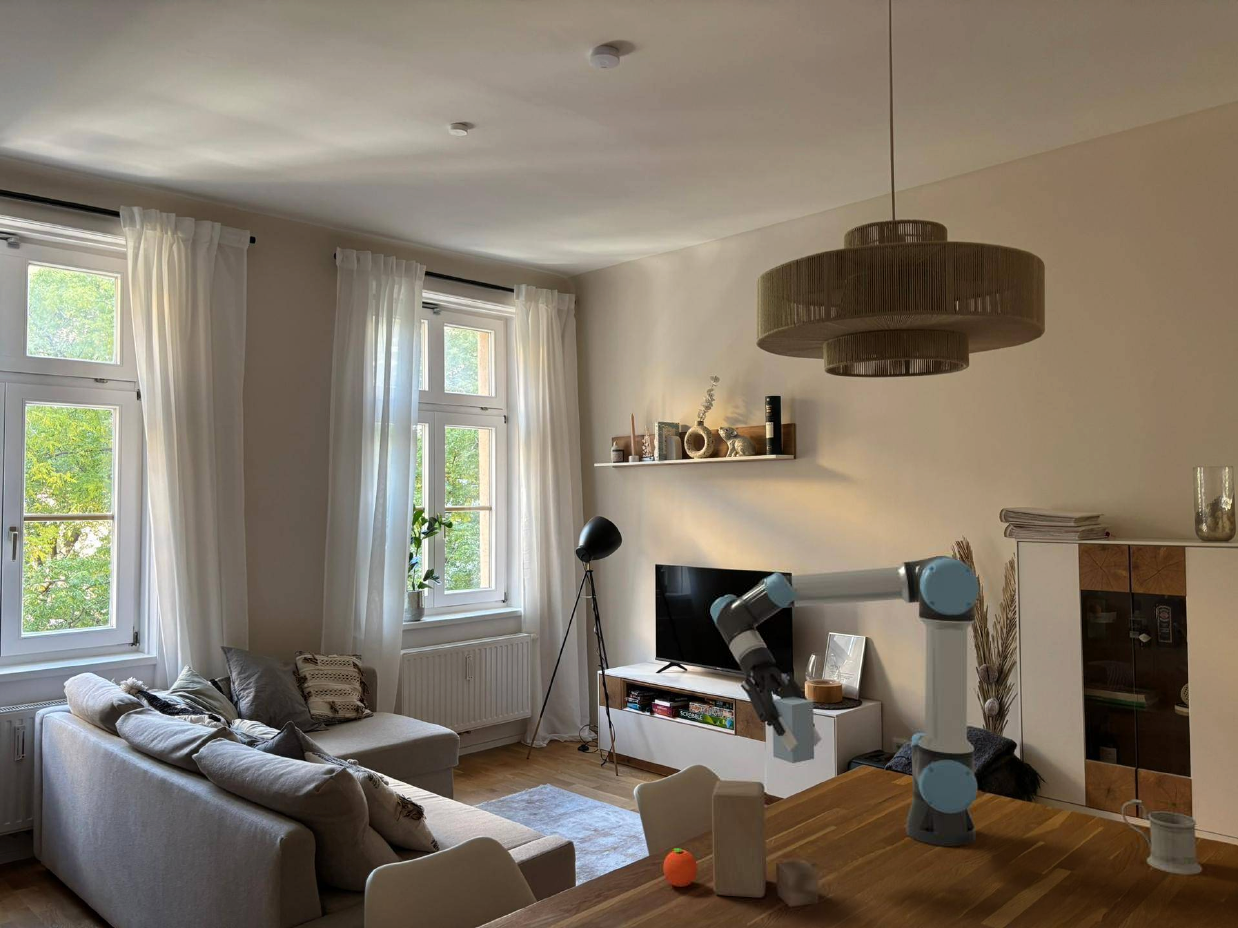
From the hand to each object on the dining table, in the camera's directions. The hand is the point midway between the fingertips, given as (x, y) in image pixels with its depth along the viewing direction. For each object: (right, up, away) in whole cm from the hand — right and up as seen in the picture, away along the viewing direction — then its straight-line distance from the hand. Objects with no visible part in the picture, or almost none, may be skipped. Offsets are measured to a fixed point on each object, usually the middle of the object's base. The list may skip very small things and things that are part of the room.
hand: (805, 744), depth 189 cm
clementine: (-27, -27, -5) cm, 38 cm away
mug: (+76, -26, +3) cm, 80 cm away
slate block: (-2, -4, +3) cm, 5 cm away
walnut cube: (-4, -26, -12) cm, 29 cm away
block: (-14, -27, -7) cm, 31 cm away
